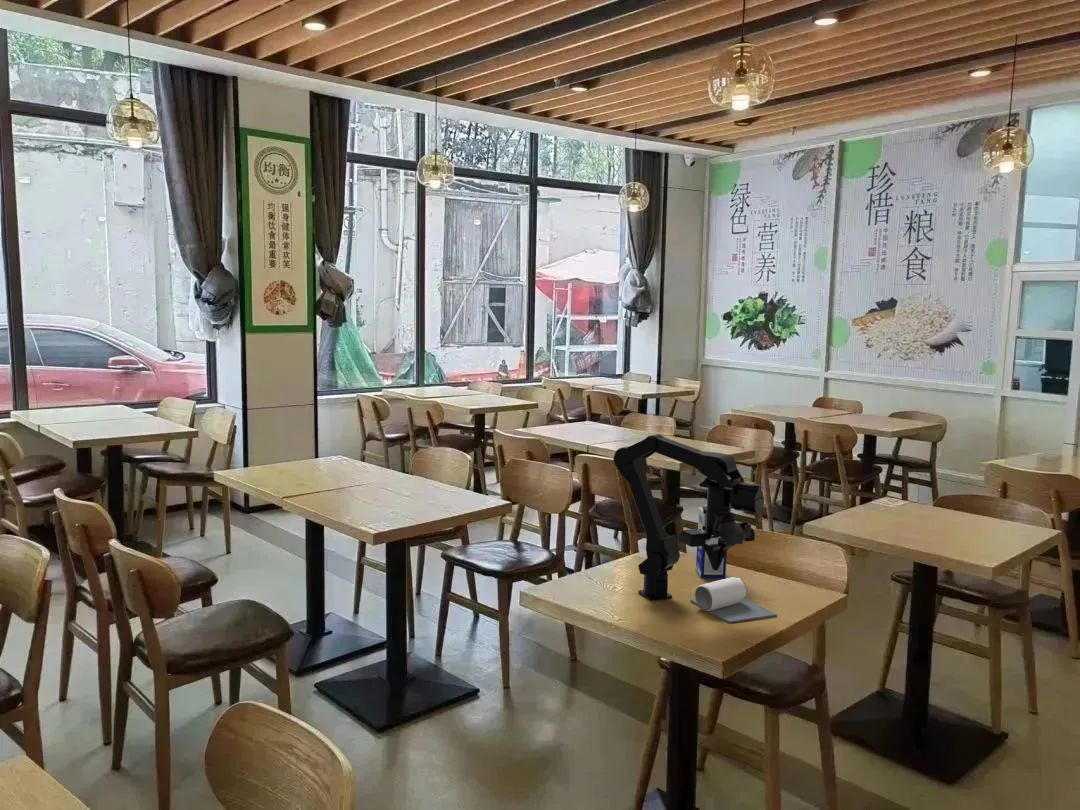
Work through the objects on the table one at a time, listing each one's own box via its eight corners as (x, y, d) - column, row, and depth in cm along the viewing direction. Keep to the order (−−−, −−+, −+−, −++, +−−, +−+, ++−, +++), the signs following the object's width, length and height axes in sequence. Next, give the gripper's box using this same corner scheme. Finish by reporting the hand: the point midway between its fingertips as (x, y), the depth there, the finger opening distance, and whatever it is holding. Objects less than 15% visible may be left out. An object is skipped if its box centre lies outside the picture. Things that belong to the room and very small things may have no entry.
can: (690, 590, 214) (726, 581, 220) (701, 615, 211) (736, 605, 218) (705, 580, 209) (741, 572, 215) (716, 606, 206) (752, 596, 213)
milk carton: (725, 578, 237) (729, 506, 234) (701, 578, 236) (704, 506, 234) (719, 570, 244) (723, 501, 241) (695, 570, 243) (699, 500, 241)
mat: (690, 601, 217) (690, 599, 217) (736, 595, 223) (736, 593, 223) (729, 623, 203) (729, 621, 203) (776, 616, 208) (777, 614, 208)
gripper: (705, 517, 198) (702, 584, 199) (771, 511, 205) (767, 575, 207) (678, 506, 208) (675, 570, 209) (742, 501, 215) (739, 562, 217)
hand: (715, 570), depth 210 cm, fingers closed
